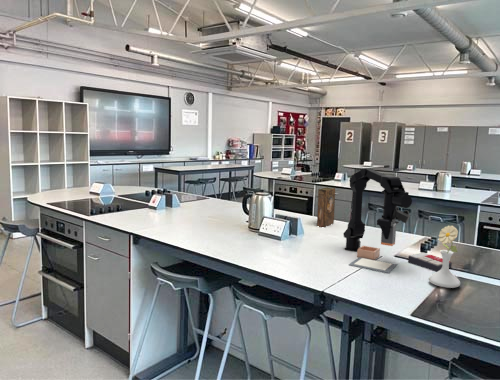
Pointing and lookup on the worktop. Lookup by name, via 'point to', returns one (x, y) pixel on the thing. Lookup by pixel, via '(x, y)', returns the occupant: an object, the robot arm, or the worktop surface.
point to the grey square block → (391, 238)
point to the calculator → (427, 261)
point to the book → (325, 207)
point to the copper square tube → (368, 252)
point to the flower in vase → (446, 260)
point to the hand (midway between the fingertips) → (388, 238)
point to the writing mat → (373, 265)
